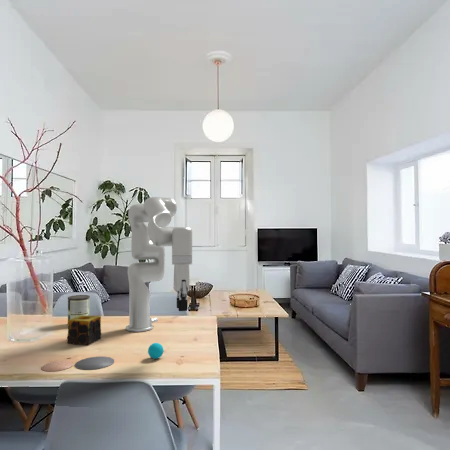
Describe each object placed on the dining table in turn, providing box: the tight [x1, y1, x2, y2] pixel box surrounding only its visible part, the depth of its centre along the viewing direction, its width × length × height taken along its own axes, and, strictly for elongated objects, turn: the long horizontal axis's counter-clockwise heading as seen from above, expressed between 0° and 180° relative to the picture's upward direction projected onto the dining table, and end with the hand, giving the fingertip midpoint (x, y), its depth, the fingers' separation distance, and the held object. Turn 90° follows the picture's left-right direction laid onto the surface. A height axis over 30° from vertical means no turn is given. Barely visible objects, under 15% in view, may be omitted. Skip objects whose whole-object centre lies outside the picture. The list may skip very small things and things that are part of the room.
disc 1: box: [41, 360, 75, 372], centre depth 127 cm, size 10×10×1 cm
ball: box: [147, 342, 164, 360], centre depth 135 cm, size 6×6×6 cm
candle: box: [66, 315, 102, 346], centre depth 157 cm, size 10×10×10 cm
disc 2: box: [74, 356, 115, 371], centre depth 130 cm, size 13×13×1 cm
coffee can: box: [67, 294, 90, 321], centre depth 186 cm, size 10×10×14 cm
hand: (181, 308), depth 138 cm, fingers open, 5 cm apart
